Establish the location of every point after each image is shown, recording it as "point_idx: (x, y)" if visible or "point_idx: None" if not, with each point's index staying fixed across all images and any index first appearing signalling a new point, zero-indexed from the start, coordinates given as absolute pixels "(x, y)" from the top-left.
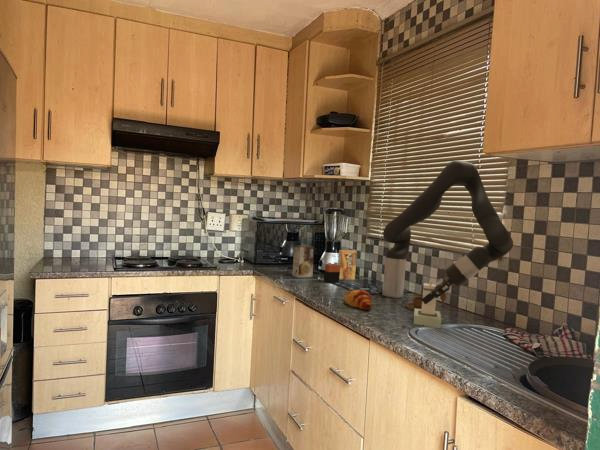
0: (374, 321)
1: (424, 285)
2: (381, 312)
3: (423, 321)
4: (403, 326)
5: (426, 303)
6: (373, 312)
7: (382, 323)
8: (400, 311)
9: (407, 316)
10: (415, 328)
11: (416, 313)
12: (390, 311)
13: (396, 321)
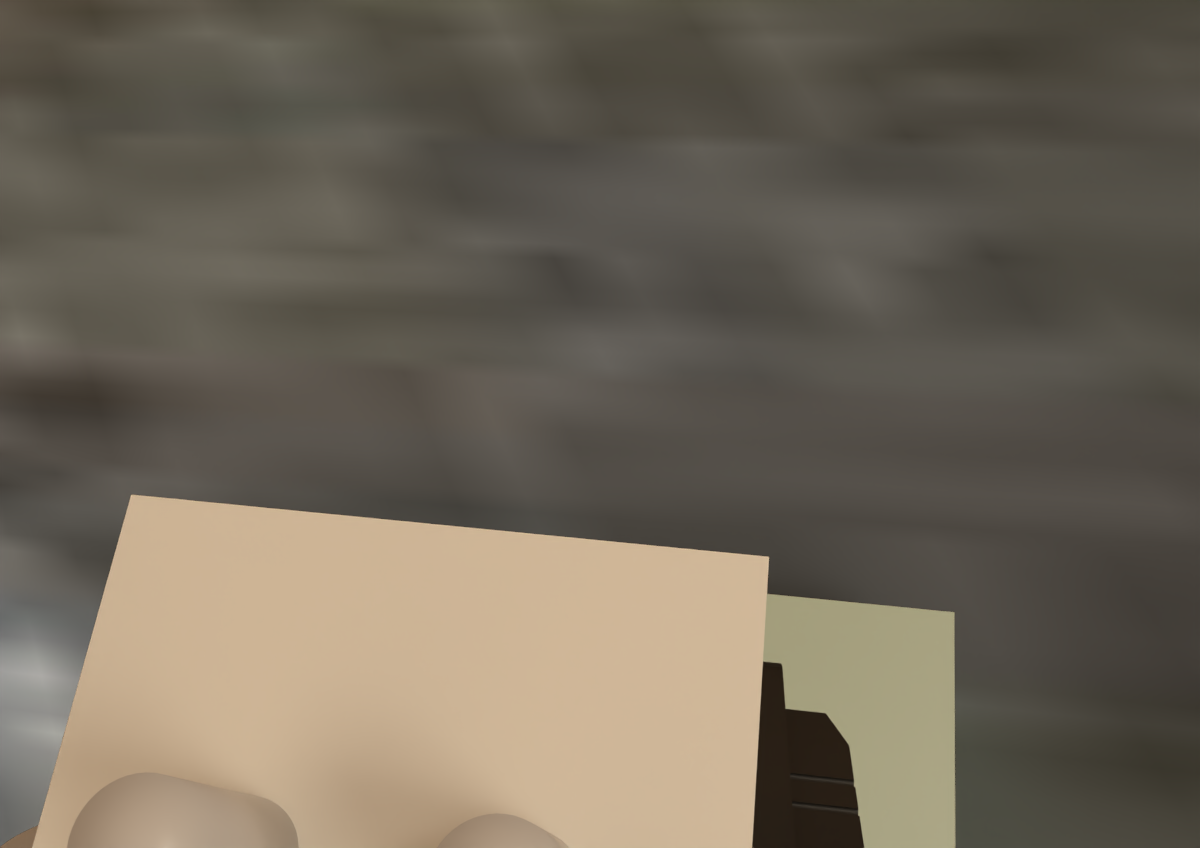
0: (248, 22)
1: (128, 521)
2: (875, 109)
3: None
4: (83, 401)
5: None
6: (802, 3)
7: (171, 118)
8: (1172, 418)
9: (824, 520)
10: (6, 587)
11: None
12: (1047, 245)
13: (365, 312)
